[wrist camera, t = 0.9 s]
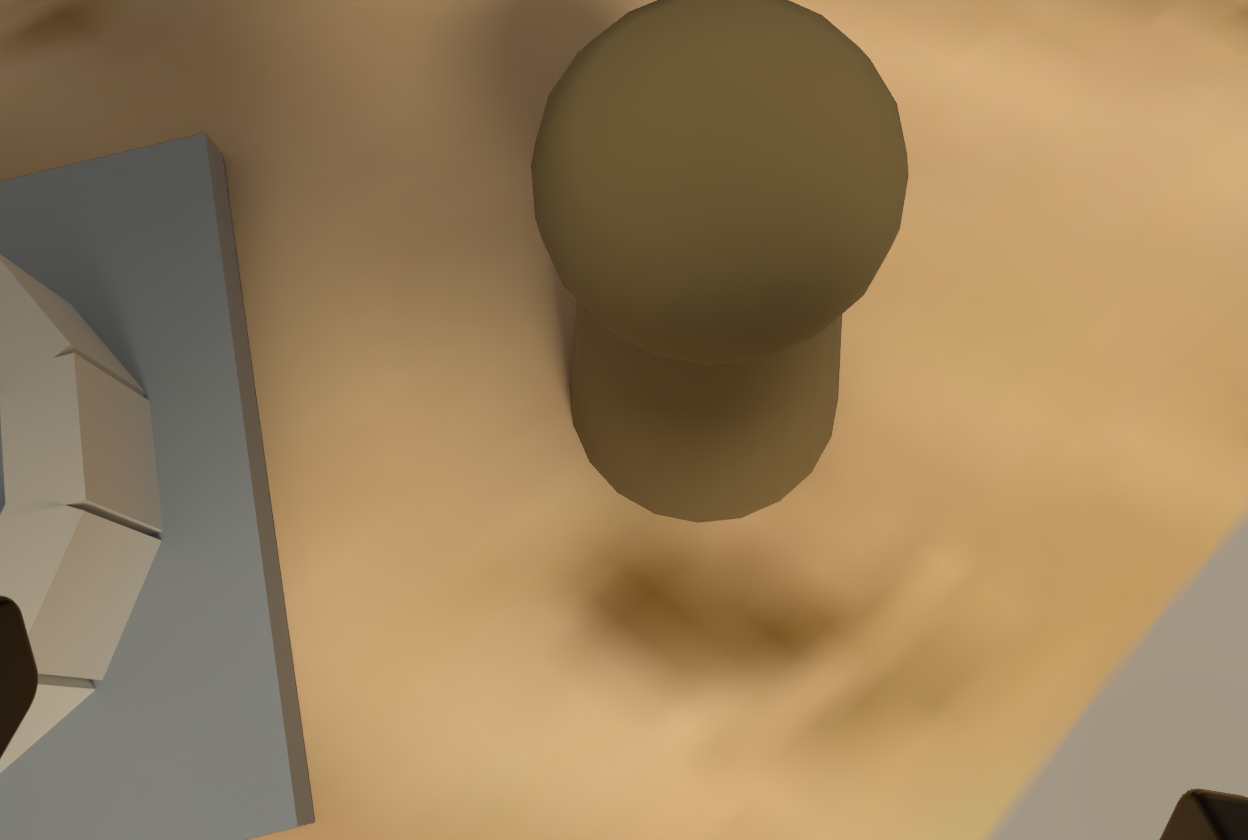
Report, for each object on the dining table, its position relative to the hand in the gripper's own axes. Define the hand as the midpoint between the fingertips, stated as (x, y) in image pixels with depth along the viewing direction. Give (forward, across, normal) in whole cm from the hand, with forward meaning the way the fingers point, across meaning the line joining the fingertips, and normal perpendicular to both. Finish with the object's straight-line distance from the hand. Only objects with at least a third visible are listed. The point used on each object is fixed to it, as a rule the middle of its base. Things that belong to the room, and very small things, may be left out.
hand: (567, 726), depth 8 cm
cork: (+15, 0, +5) cm, 16 cm away
